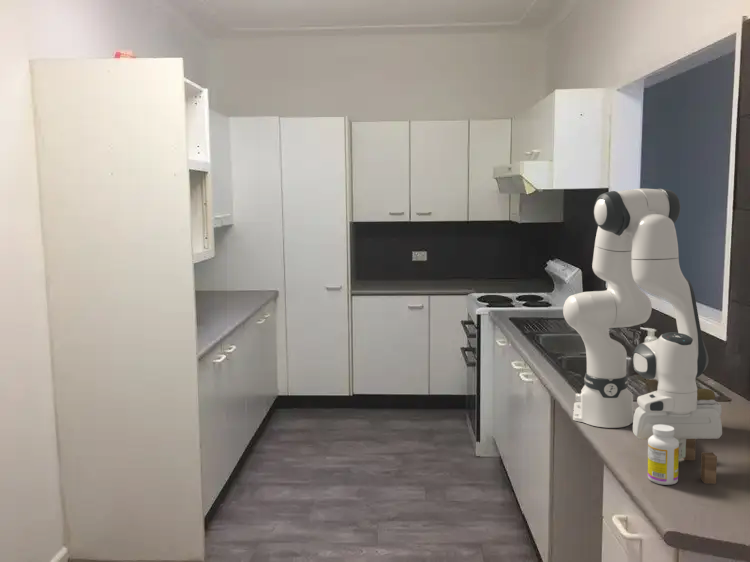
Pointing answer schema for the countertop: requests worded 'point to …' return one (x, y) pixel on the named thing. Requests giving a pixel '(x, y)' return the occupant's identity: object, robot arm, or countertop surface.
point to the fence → (703, 462)
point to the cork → (705, 394)
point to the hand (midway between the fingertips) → (676, 455)
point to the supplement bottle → (663, 455)
